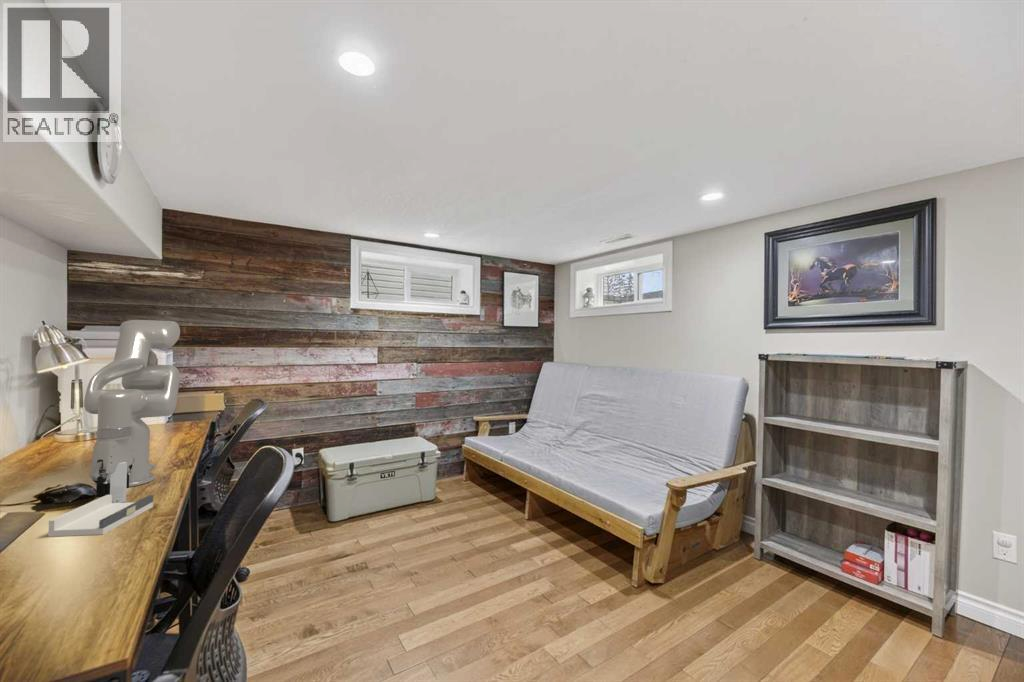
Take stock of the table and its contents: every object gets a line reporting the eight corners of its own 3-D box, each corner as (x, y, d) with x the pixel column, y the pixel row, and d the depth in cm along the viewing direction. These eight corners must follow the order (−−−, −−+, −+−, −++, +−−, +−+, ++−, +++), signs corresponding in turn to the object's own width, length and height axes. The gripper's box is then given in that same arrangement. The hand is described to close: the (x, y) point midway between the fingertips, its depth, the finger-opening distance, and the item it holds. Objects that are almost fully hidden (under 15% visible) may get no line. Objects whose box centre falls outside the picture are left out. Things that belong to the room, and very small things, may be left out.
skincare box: (126, 501, 127) (127, 462, 127) (108, 506, 123) (109, 465, 123) (116, 498, 129) (117, 459, 130) (98, 502, 126) (99, 463, 126)
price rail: (149, 501, 123) (149, 495, 123) (153, 501, 123) (154, 494, 123) (99, 528, 106) (99, 520, 106) (104, 528, 106) (104, 520, 106)
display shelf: (106, 508, 122) (107, 494, 122) (152, 506, 123) (153, 493, 123) (48, 536, 104) (48, 520, 104) (103, 534, 106) (103, 518, 106)
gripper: (122, 427, 134) (121, 483, 134) (75, 440, 117) (73, 503, 117) (148, 427, 136) (147, 482, 135) (105, 439, 118) (103, 502, 118)
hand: (113, 491), depth 126 cm, fingers closed on skincare box, 6 cm apart
